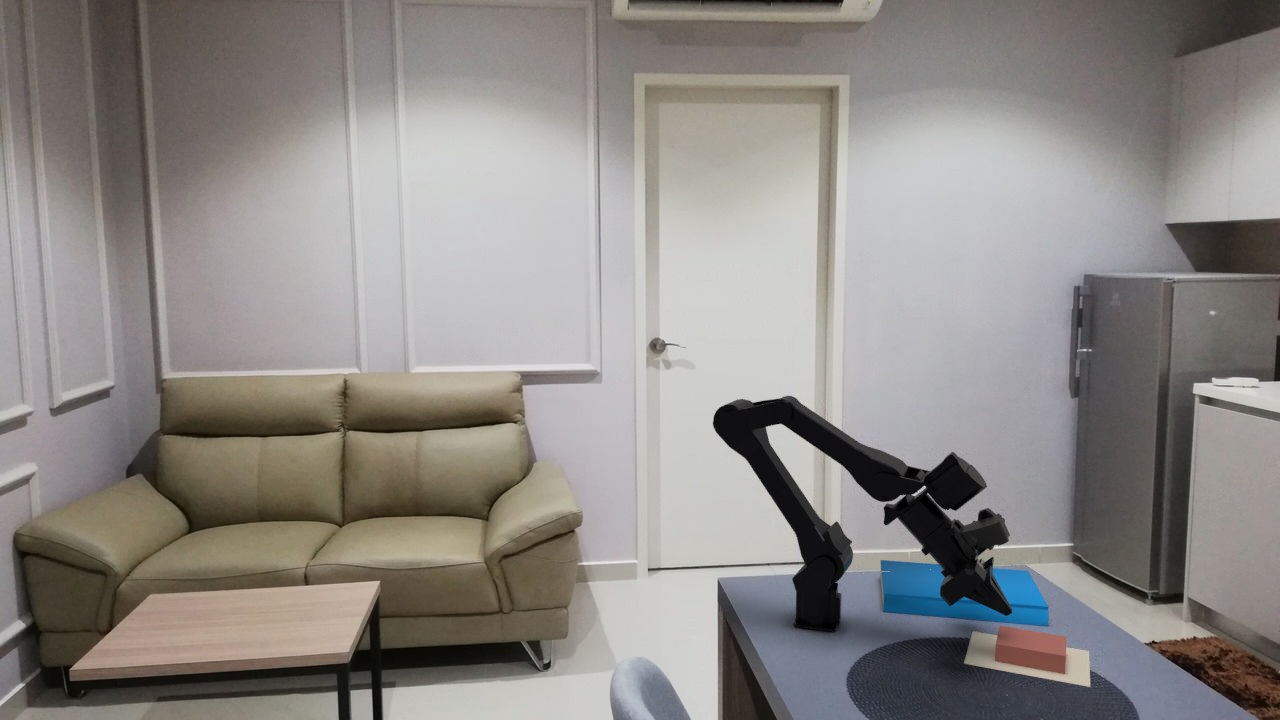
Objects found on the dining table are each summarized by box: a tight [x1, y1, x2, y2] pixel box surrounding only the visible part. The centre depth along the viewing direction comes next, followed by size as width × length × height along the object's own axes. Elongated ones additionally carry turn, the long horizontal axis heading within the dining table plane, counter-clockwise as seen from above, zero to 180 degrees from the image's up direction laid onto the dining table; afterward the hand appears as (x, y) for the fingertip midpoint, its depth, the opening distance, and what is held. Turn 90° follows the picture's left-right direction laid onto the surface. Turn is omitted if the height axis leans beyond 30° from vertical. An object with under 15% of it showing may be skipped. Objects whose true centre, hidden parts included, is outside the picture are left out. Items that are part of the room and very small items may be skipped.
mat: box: [963, 631, 1091, 688], centre depth 128 cm, size 16×12×1 cm
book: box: [879, 559, 1050, 627], centre depth 150 cm, size 17×4×25 cm
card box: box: [995, 625, 1067, 674], centre depth 128 cm, size 3×7×9 cm
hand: (1009, 613), depth 129 cm, fingers closed
